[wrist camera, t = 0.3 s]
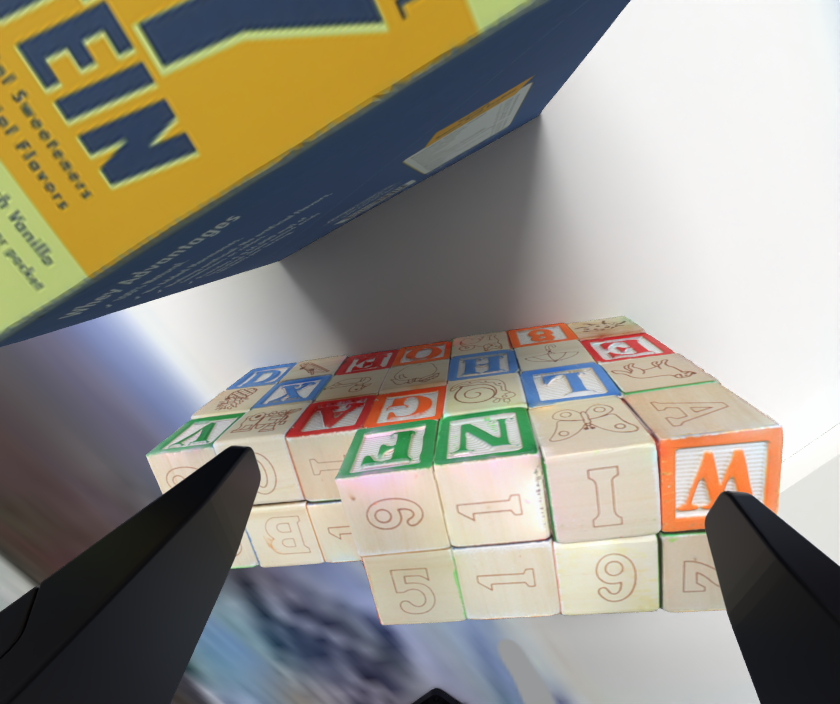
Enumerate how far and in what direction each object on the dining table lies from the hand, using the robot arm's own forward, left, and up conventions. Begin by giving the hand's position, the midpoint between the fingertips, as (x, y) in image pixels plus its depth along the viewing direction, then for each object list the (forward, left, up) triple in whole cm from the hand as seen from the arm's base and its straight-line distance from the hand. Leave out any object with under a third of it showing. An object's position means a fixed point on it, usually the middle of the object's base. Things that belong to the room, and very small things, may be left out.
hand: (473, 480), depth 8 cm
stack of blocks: (-5, -2, -16) cm, 17 cm away
